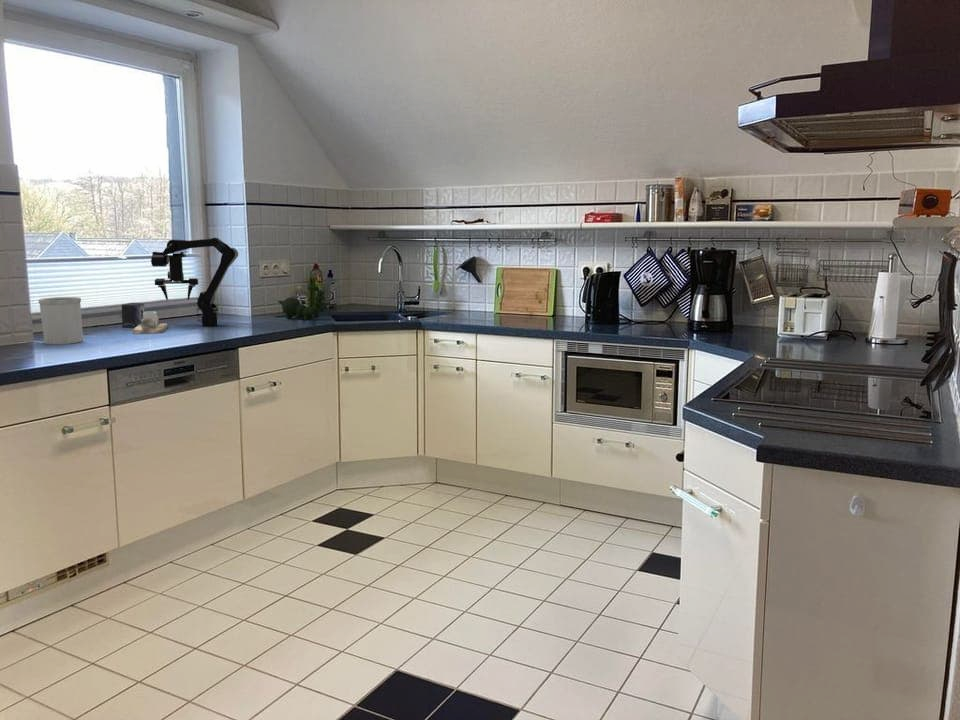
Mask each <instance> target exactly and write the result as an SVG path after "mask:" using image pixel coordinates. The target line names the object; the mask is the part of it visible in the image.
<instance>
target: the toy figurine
mask: <svg viewBox="0 0 960 720" xmlns="http://www.w3.org/2000/svg"><path fill="white" fill-rule="evenodd" d="M307 289H308V290H313V291H314V292H316V295H315V300H314V303H313V305H312V307H309V306H306V305H305V304H304V303H303V304H302V303H301V301H300V300H299V298H298V299H297V298H296V297H293V296H292V297H291V296H290V297H287V298H285V299H284V300H278V301H277V303H279V304H280V305H281V309H282V312H283V313H284V314H285V318H286V319H288V320H291V319H293V317H295V319H297V320H299V319H300V318H301V319H303V320H304V321H307V320H311V319H315V318H319V317H320V315H319V313H324V308H322V307H323V306H324V305H325V302H323V301H324V300H325V297H326V296H324V295H325V294H326V293H325V291H323V290H322V289H320V288H319V286H318V285H315V284H311V285H310V286H308V287H307Z"/></svg>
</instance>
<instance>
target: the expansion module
mask: <svg viewBox="0 0 960 720" xmlns="http://www.w3.org/2000/svg"><path fill="white" fill-rule="evenodd" d="M157 315H158V313H157V311H155V310H154V311H153V310H152V311H151V310H150V311H144V313H143V319H155V326H157Z"/></svg>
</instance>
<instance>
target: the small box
mask: <svg viewBox="0 0 960 720" xmlns="http://www.w3.org/2000/svg"><path fill="white" fill-rule="evenodd" d="M144 312H145V303H144V302H142V303H141V302H130V303H125V304H121V320H122V321H121V323H122V328H136V327H137V326H138V325H139V324H141V320H142V319H143V313H144Z"/></svg>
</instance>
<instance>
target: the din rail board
mask: <svg viewBox="0 0 960 720" xmlns="http://www.w3.org/2000/svg"><path fill="white" fill-rule="evenodd" d="M159 318H160V317H159V315H158V314H157V326H155V319H142V320H141V324H139V325H138V326H137V327H133V328H134V329H132V334H133V335H134V334H139V335H140V334H163V333H164V332H165V330H167V328H168V323H160V321H159V320H160V319H159Z"/></svg>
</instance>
